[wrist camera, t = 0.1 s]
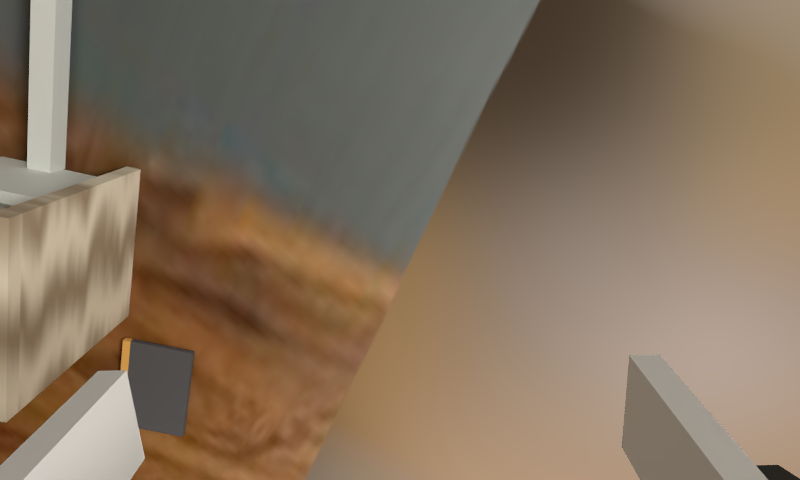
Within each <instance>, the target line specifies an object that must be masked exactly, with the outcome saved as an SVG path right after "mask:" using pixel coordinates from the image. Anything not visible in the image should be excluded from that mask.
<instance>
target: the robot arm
mask: <svg viewBox="0 0 800 480" xmlns="http://www.w3.org/2000/svg"><path fill="white" fill-rule="evenodd" d="M622 448H623V450H624V451H625V453H626V455H627V457H628V459H629V460H630V462H631V464H632V466H633V467H634V469H635V471H636V473H637V475H638V477H639V478H640V480H800V479H799V478H798V477H796V476H794V475H793V474H791V473H790V472H788V471H787V470H785V469H784V468H782V467H780V466H779V465H764V466H763V465H761V466H756V465H755V464H754V463H753V462H752V460H751V459H750V458H749V457H748V456H747V455H746V454H745V452H744V451H743V450H742V449H741V448H740V447H739V445H738V444H737V443H736V442H735V441H734V440H733V439H732V437H731V436H730V435H729V434H728V433H727V432H726V431H725V429H724V428H723V427H722V426H721V425H720V424H719V423H718V421H717V420H716V419H715V418H714V417H713V416H712V414H711V413H710V412H709V411H708V410H707V409H706V408H705V407H704V405H703V404H702V403H701V402H700V401H699V399H698V398H697V397H696V396H695V395H694V394H693V393H692V391H691V390H690V389H689V388H688V387H687V386H686V385H685V383H684V382H683V381H682V380H681V379H680V377H679V376H678V375H677V374H676V373H675V372H674V371H673V369H672V368H671V367H670V366H669V365H668V364H667V362H666V361H665V360H664V359H663V358H662V357H661V356H660V355H630V356H629V367H628V378H627V391H626V402H625V415H624V427H623V440H622ZM144 459H145V457H144V452H143V447H142V442H141V437H140V433H139V428H138V423H137V418H136V413H135V408H134V404H133V399H132V394H131V389H130V384H129V379H128V375H127V370H117V371H98V372H97V373H96V374H95V375H93V376H92V377H91V378H90V379H89V380H88V381H87V382H86V383H85V384H84V385H83V386H82V387H81V388H80V389H79V390H78V391H77V392H76V393H75V394H74V395H73V396H72V397H71V398H70V399H69V400H68V401H67V402H66V403H65V404H63V405H62V406H61V407H60V408H59V409H58V410H57V411H56V412H55V413H54V414H53V415H52V416H51V417H50V418H49V419H48V420H47V421H46V422H45V423H44V424H43V425H42V426H41V427H40V428H39V429H38V430H37V431H36V432H34V433H33V434H32V435H31V436H30V437H29V438H28V439H27V440H26V441H25V442H24V443H23V444H22V445H21V446H20V447H19V448H18V449H17V450H16V451H15V452H14V453H13V454H12V455H11V456H10V457H9V458H8V459H7V460H6V461H4V462H3V463H2V464H1V465H0V480H130V479H131V478H132V476H133V475H134V473H135V472H136V471H137V469H138V468H139V466H140V465H141V463H142V462H143V460H144Z"/></svg>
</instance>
